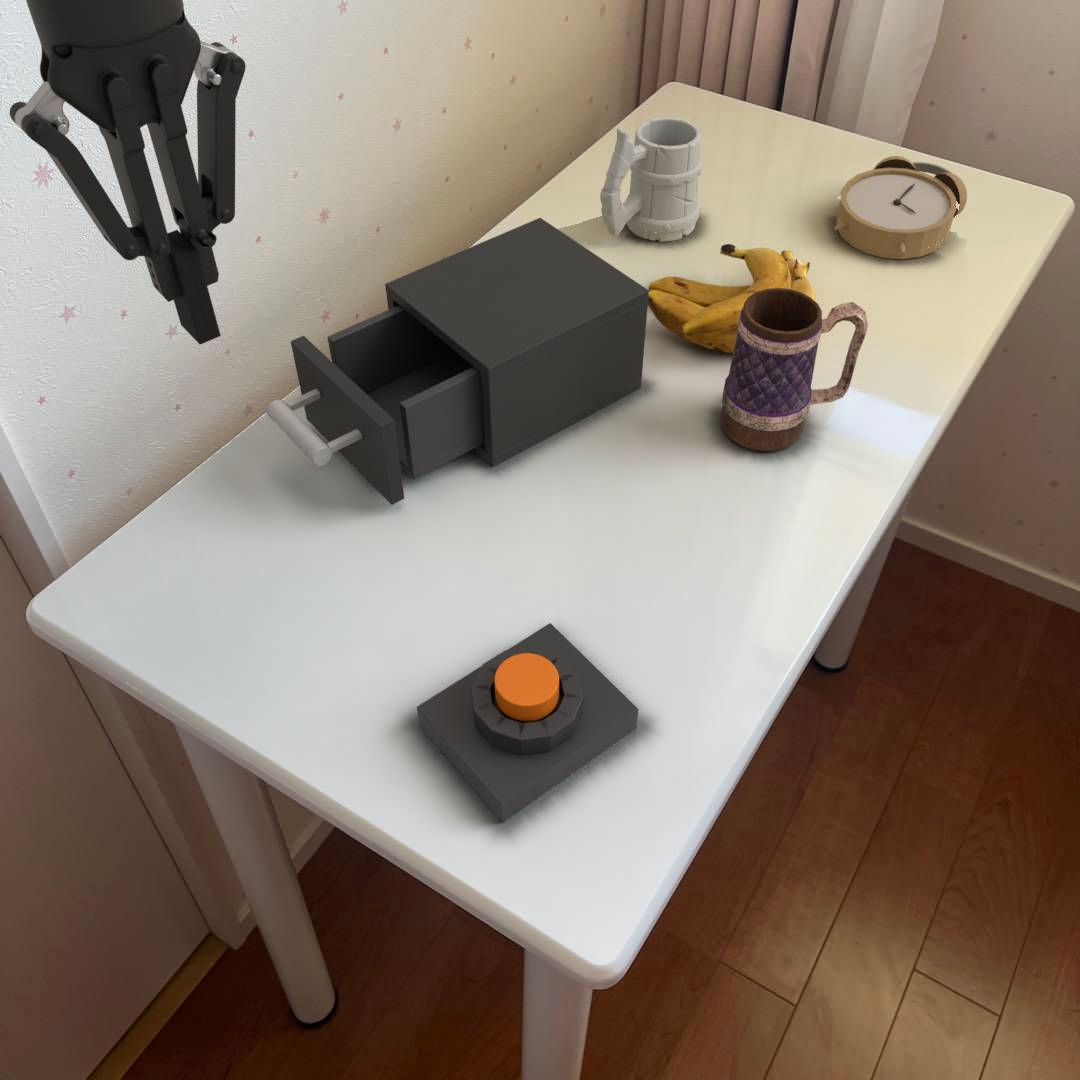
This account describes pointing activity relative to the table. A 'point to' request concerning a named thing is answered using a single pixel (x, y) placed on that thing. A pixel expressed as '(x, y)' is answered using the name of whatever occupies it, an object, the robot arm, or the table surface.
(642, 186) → the mug
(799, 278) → the banana
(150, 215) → the robot arm
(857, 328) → the mug
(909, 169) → the alarm clock
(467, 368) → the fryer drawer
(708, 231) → the table surface
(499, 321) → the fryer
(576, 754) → the control block
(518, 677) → the button
